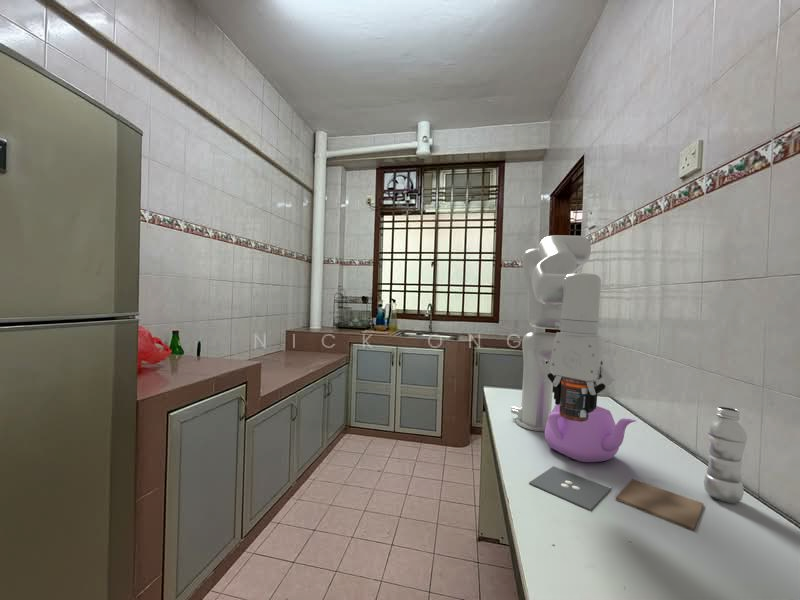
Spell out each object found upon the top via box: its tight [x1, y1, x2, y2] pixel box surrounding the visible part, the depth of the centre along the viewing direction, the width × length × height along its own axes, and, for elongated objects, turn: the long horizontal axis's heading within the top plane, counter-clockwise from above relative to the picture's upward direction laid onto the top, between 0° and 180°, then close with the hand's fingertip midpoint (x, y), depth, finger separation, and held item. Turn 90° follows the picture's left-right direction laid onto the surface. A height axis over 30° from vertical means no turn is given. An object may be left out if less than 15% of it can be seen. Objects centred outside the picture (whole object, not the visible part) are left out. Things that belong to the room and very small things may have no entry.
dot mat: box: [528, 465, 612, 511], centre depth 80 cm, size 13×13×1 cm
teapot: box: [544, 404, 637, 463], centre depth 96 cm, size 23×21×15 cm
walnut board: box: [615, 478, 704, 531], centre depth 76 cm, size 13×13×1 cm
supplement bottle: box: [560, 377, 589, 422], centre depth 80 cm, size 6×6×11 cm
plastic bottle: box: [703, 406, 748, 504], centre depth 79 cm, size 6×7×20 cm
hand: (574, 406), depth 81 cm, fingers closed on supplement bottle, 6 cm apart
